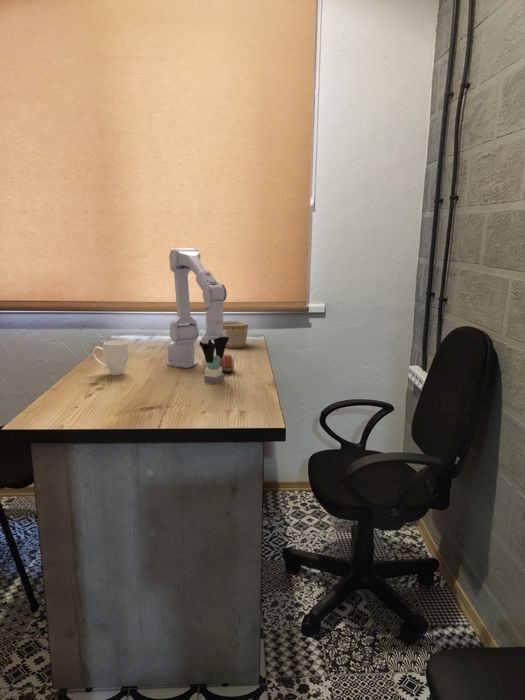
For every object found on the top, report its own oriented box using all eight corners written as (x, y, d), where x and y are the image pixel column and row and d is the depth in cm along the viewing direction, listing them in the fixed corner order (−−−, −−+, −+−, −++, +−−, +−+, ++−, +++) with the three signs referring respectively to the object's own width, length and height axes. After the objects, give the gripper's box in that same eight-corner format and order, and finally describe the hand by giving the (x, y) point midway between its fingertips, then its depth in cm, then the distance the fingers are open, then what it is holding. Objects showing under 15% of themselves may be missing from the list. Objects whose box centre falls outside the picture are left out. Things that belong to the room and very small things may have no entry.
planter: (214, 346, 224) (213, 323, 222) (231, 341, 234) (231, 319, 232) (236, 350, 217) (236, 326, 215) (253, 345, 228) (253, 323, 225)
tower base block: (204, 382, 172) (204, 375, 171) (211, 379, 176) (211, 372, 176) (217, 384, 170) (217, 377, 169) (224, 380, 174) (224, 373, 174)
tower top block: (204, 375, 171) (204, 368, 170) (210, 372, 175) (210, 365, 174) (216, 377, 170) (216, 370, 169) (221, 374, 174) (221, 367, 173)
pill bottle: (232, 351, 185) (202, 351, 183) (234, 362, 180) (204, 363, 178) (231, 363, 189) (202, 364, 187) (233, 375, 184) (203, 375, 182)
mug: (130, 370, 184) (129, 339, 181) (127, 376, 176) (126, 344, 173) (96, 370, 182) (94, 340, 179) (92, 377, 174) (90, 345, 171)
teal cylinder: (205, 368, 171) (205, 357, 170) (211, 365, 174) (211, 354, 174) (216, 370, 169) (216, 358, 168) (221, 367, 173) (221, 355, 172)
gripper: (215, 325, 160) (215, 366, 163) (234, 318, 173) (234, 356, 176) (195, 323, 162) (196, 363, 166) (216, 316, 176) (216, 354, 179)
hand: (214, 360), depth 171 cm, fingers open, 7 cm apart
